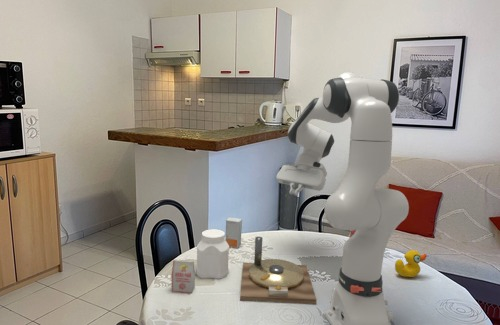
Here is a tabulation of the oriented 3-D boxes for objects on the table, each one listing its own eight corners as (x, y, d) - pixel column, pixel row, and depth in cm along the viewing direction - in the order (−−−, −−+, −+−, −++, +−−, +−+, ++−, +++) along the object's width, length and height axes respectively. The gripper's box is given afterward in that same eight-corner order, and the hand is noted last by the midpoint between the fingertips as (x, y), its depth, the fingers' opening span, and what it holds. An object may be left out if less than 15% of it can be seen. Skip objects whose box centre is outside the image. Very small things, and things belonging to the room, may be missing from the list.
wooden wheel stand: (316, 304, 114) (317, 291, 113) (240, 300, 114) (240, 287, 113) (306, 269, 137) (306, 258, 137) (242, 266, 138) (243, 255, 137)
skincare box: (224, 246, 155) (225, 219, 153) (228, 242, 159) (229, 216, 157) (238, 248, 154) (239, 221, 152) (241, 245, 158) (242, 218, 156)
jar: (194, 278, 127) (195, 237, 125) (198, 265, 137) (199, 227, 134) (227, 279, 127) (228, 239, 125) (229, 267, 137) (230, 229, 134)
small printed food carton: (174, 286, 121) (175, 258, 120) (194, 287, 121) (195, 259, 119) (171, 291, 118) (171, 263, 116) (191, 293, 117) (192, 264, 115)
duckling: (419, 272, 138) (422, 247, 137) (427, 279, 133) (430, 253, 131) (391, 272, 137) (393, 248, 135) (398, 279, 132) (401, 254, 130)
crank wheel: (306, 291, 118) (309, 256, 116) (248, 288, 118) (249, 254, 116) (299, 265, 137) (301, 234, 135) (249, 262, 137) (250, 232, 135)
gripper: (281, 158, 152) (267, 185, 146) (327, 165, 140) (313, 194, 134) (286, 167, 156) (273, 193, 150) (330, 174, 145) (318, 203, 138)
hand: (292, 194), depth 142 cm, fingers closed
